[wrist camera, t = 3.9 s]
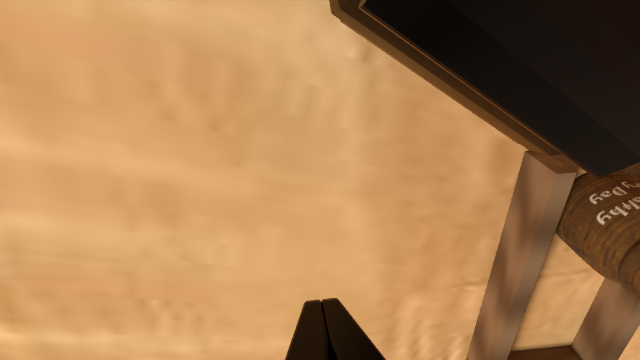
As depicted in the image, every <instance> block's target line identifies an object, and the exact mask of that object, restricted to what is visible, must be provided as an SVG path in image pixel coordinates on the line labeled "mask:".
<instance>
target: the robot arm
mask: <svg viewBox="0 0 640 360" xmlns="http://www.w3.org/2000/svg"><path fill="white" fill-rule="evenodd" d="M329 2H330V8H331V13H332V14H333V15H334V16H336V17H337V18H339V19H340V21H341V22H342V23H343V24H345V25H346V26H348V27H349V28H351V29H352V30H353V31H355V32H356V33H358V34H359V35H361V36H362V37H364V38H365V39H367V40H368V41H369V42H371V43H372V44H374V45H375V46H377V47H378V48H380V49H381V50H382V51H384V52H385V53H387V54H388V55H390V56H391V57H393V58H394V59H396V60H397V61H398V62H400V63H401V64H403V65H404V66H406V67H407V68H409V69H410V70H411V71H413V72H414V73H416V74H417V75H419V76H420V77H422V78H423V79H425V80H426V81H427V82H429V83H430V84H432V85H433V86H435V87H436V88H438V89H439V90H441V91H442V92H443V93H445V94H446V95H448V96H449V97H451V98H452V99H454V100H455V101H456V102H458V103H459V104H461V105H462V106H464V107H465V108H467V109H468V110H470V111H471V112H472V113H474V114H475V115H477V116H478V117H480V118H481V119H483V120H484V121H486V122H487V123H488V124H490V125H491V126H493V127H494V128H496V129H497V130H499V131H500V132H501V133H503V134H504V135H506V136H507V137H509V138H510V139H512V140H513V141H515V142H516V143H518V144H521V145H523V146H524V147H525V148H527V149H528V150H530V151H534V152H538V153H542V154H546V155H564V156H565V157H567V158H568V159H569V160H571V161H572V162H574V163H575V164H576V165H578V166H579V167H581V168H582V169H583V170H585V171H586V172H588V173H589V174H590V175H592V176H594V177H599V178H600V177H603V176H606V175H608V174H611V173H613V172H616V171H618V170H621V169H623V168H626V167H628V166H631V165H633V164H636V163H638V162H640V0H329ZM285 360H386V359H385V358H384V357H383V355H382V354H381V353H380V351H379V350H378V349H377V348H376V346H375V345H374V344H373V343H372V341H371V340H370V339H369V338H368V336H367V335H366V334H365V332H364V331H363V330H362V329H361V327H360V326H359V325H358V324H357V322H356V321H355V320H354V319H353V317H352V316H351V315H350V314H349V312H348V311H347V310H346V308H345V307H344V306H343V305H342V303H341V302H340V301H339V300H338V299H337V298H329V299H323V300H322V301H320V300H311V301H306V302H305V303H304V305H303V308H302V311H301V314H300V317H299V320H298V323H297V326H296V329H295V332H294V335H293V338H292V340H291V343H290V346H289V349H288V352H287V355H286V358H285Z"/></svg>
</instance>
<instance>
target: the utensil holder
mask: <svg viewBox="0 0 640 360" xmlns="http://www.w3.org/2000/svg"><path fill="white" fill-rule="evenodd" d="M555 232H556V233H557V235H558V236H559V237H560V238H561V239H562V240H563V241H564V242H565V243H566V244H567V245H568V246H569V247H570V248H571V249H572V250H573V251H574V252H575V253H577V254H578V255H579V256H580V257H581V258H582V259H583V260H584V261H585V262H586V263H587V264H589V265H590V266H591V267H592V268H593V269H594V270H596V271H597V272H598V273H599V274H601V275H602V276H604V277H605V278H607V279H609V280H611V281H614V282H617V283H620V284H621V286H622V287H623V289H624V290H625V291H626V292H628V293H629V294H630V295H632V296H633V297H635V298H636V299H638V300H640V181H639V180H637V179H635V178H633V177H631V176H629V175H626V174H624V173H621V172H618V171H616V172H613V173H611V174H608V175H606V176H603V177H600V178H599V177H594V176H592V175H590V174H586V175H584V176H582V177H580V178H578V179H576V180H575V181H574V182H573V185H572V187H571V190H570V193H569V195H568V198H567V201H566V203H565V206H564V209H563V211H562V214H561V217H560V219H559V222H558V225H557V227H556V230H555Z"/></svg>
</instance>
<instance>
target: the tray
mask: <svg viewBox="0 0 640 360" xmlns="http://www.w3.org/2000/svg"><path fill="white" fill-rule="evenodd" d="M576 174H577V172H575V171H574V170H572V169H571V168H569V167H568V166H566V165H565V164H563V163H562V162H560V161H559V160H557V159H556V158H554V157H552V156H551V155H546V154H542V153H538V152H534V151H528V152H525V154H524V158H523V161H522V165H521V168H520V172H519V176H518V179H517V183H516V186H515V190H514V193H513V197H512V200H511V204H510V207H509V211H508V214H507V218H506V221H505V225H504V228H503V232H502V235H501V239H500V242H499V246H498V250H497V253H496V257H495V260H494V264H493V267H492V271H491V274H490V278H489V281H488V285H487V288H486V292H485V295H484V299H483V302H482V306H481V309H480V313H479V316H478V320H477V323H476V327H475V331H474V334H473V338H472V341H471V345H470V348H469V352H468V355H467V359H466V360H618V359H619V357H620V355H621V354H622V352H623V351H624V349H625V347H626V346H627V344H628V343H629V341H630V339H631V338H632V336H633V335H634V333H635V331H636V330H637V328H638V327H639V325H640V300H638V299H636V298H635V297H633V296H632V295H630V294H629V293H628V292H626V291H625V290H624V289H623V287H622V286H621V284H620V283H617V282H614V281H611V280H609V279H607V278H605V280H604V281H603V283H602V285H601V287H600V289H599V291H598V293H597V295H596V297H595V299H594V301H593V303H592V305H591V307H590V309H589V311H588V313H587V315H586V317H585V319H584V321H583V323H582V325H581V327H580V329H579V331H578V333H577V335H576V337H575V339H574V341H573V343H572V345H571V346H567V347H558V348H549V349H539V350H530V351H521V352H511V353H510V350H511V347H512V345H513V342H514V339H515V337H516V334H517V331H518V329H519V326H520V323H521V321H522V318H523V315H524V313H525V310H526V307H527V305H528V302H529V299H530V297H531V294H532V291H533V289H534V286H535V283H536V281H537V278H538V275H539V273H540V270H541V267H542V265H543V262H544V259H545V257H546V254H547V251H548V249H549V246H550V243H551V241H552V238H553V235H554V233H555V230H556V227H557V225H558V222H559V219H560V217H561V214H562V211H563V209H564V206H565V203H566V201H567V198H568V195H569V193H570V190H571V187H572V185H573V182H574V179H575V177H576Z"/></svg>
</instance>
